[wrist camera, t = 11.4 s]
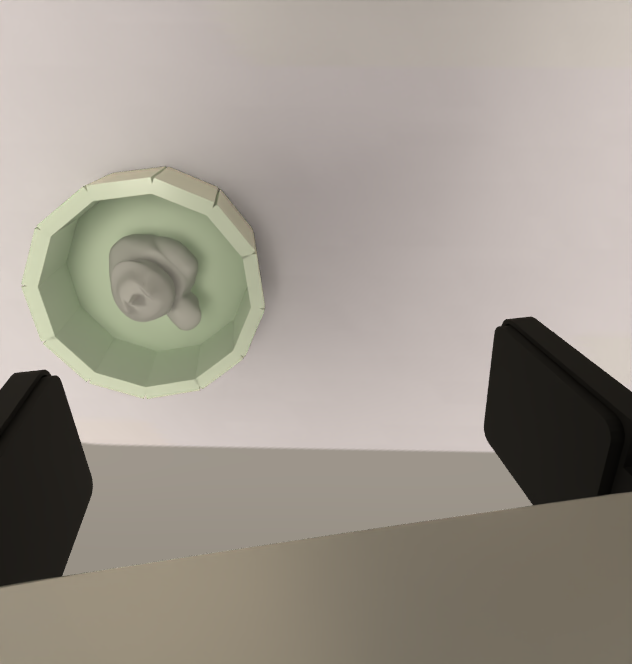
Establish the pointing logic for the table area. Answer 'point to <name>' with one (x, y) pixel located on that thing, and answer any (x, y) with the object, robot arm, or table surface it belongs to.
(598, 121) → the table surface
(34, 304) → the pale green bowl
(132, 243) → the rubber duck
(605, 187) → the table surface
